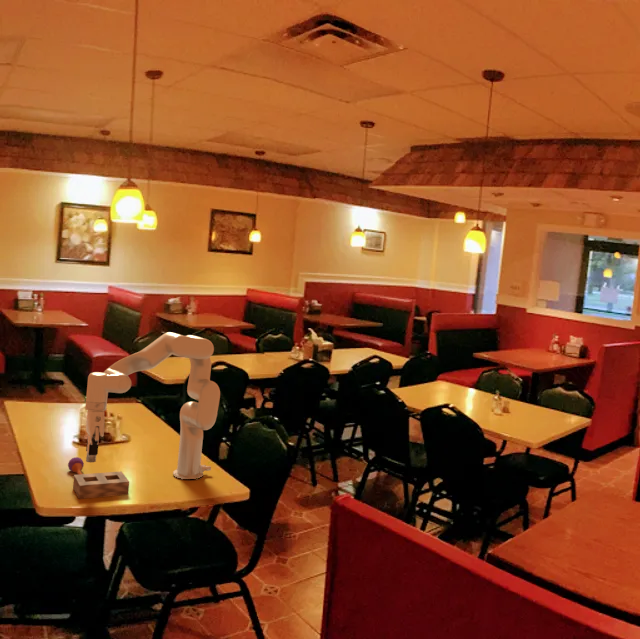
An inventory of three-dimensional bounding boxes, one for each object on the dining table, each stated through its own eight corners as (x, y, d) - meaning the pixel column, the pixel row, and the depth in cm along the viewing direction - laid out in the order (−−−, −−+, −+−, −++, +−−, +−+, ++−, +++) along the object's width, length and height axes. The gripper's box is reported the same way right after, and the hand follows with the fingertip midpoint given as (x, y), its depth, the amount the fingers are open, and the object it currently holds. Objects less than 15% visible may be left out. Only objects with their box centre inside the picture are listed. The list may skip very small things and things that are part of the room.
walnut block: (120, 483, 258) (121, 471, 257) (128, 494, 247) (129, 481, 247) (73, 487, 248) (73, 474, 248) (78, 498, 238) (79, 485, 238)
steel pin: (94, 459, 247) (97, 433, 246) (96, 462, 244) (99, 436, 243) (85, 459, 245) (87, 434, 244) (87, 462, 242) (89, 436, 241)
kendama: (74, 476, 249) (66, 456, 266) (76, 490, 251) (67, 470, 268) (90, 473, 252) (81, 453, 269) (92, 486, 254) (82, 466, 271)
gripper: (111, 410, 238) (106, 459, 239) (101, 400, 252) (97, 446, 253) (90, 410, 234) (85, 460, 235) (81, 400, 248) (77, 447, 249)
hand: (91, 452), depth 244 cm, fingers closed on steel pin, 3 cm apart
